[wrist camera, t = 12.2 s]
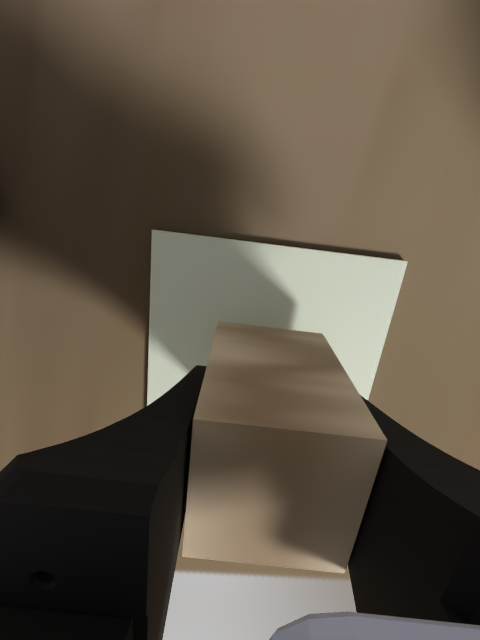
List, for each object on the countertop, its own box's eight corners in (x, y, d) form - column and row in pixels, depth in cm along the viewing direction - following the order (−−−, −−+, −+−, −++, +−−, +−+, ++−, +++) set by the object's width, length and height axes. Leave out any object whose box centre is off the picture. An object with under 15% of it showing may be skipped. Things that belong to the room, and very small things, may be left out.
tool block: (322, 333, 12) (387, 440, 7) (303, 421, 14) (344, 573, 8) (218, 321, 12) (193, 419, 7) (209, 411, 14) (182, 557, 8)
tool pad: (404, 260, 13) (407, 261, 13) (347, 460, 16) (349, 464, 16) (153, 229, 13) (151, 230, 12) (147, 437, 16) (146, 441, 16)
